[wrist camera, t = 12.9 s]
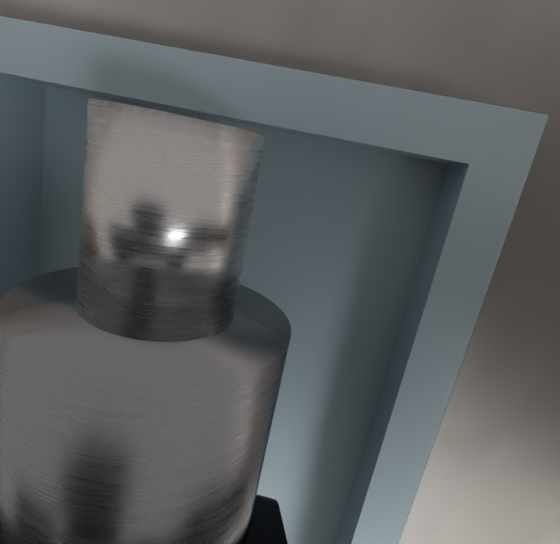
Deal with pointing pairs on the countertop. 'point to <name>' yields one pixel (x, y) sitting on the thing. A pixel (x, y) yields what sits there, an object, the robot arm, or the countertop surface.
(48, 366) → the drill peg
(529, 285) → the countertop surface
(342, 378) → the tray
